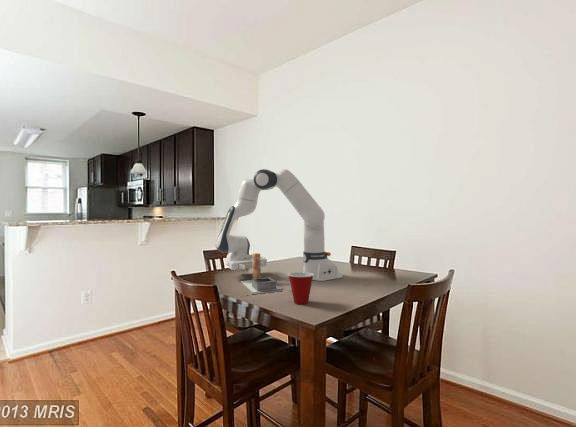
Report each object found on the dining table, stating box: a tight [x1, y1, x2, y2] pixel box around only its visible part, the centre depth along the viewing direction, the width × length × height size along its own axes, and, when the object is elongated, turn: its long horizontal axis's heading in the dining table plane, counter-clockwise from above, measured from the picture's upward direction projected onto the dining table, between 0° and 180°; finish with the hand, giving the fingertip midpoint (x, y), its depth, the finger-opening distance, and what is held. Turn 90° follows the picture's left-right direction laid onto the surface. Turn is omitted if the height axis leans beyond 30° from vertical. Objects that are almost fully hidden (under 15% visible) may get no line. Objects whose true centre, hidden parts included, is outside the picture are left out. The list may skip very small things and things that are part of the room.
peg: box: [251, 253, 262, 279], centre depth 163 cm, size 4×4×14 cm
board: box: [240, 276, 283, 296], centre depth 157 cm, size 14×22×5 cm, turn 22°
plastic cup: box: [287, 271, 314, 305], centre depth 134 cm, size 11×11×12 cm
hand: (254, 265), depth 165 cm, fingers open, 8 cm apart
